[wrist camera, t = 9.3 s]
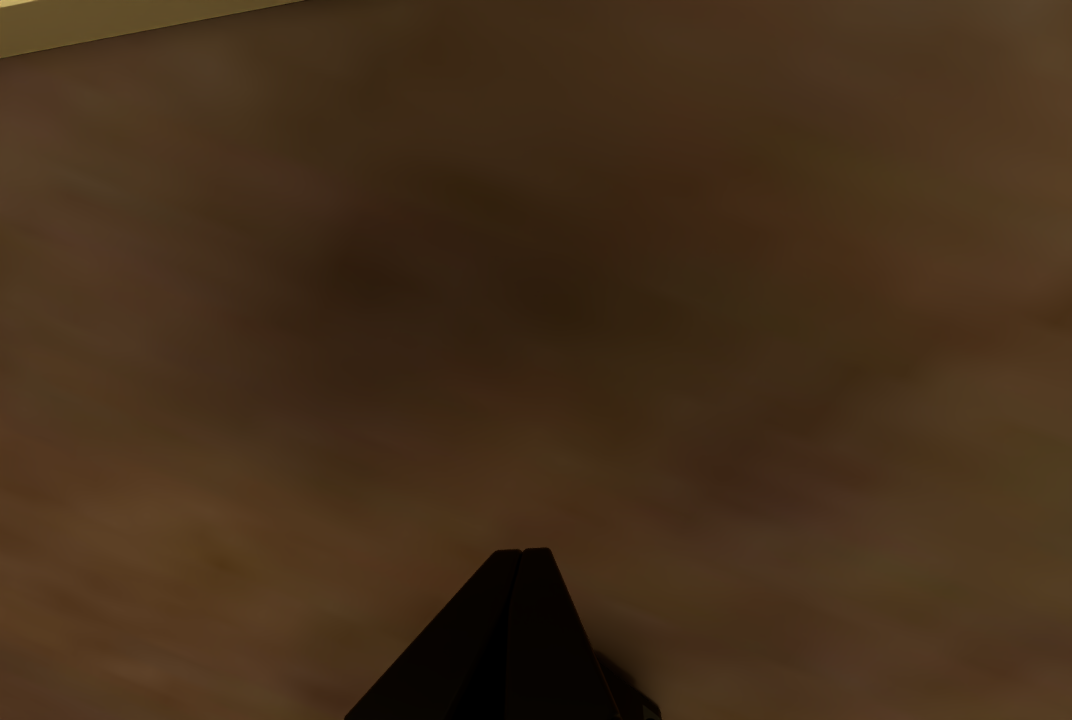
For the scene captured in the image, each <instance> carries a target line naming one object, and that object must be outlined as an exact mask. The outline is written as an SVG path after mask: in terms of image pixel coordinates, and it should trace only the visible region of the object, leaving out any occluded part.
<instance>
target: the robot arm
mask: <svg viewBox="0 0 1072 720" xmlns="http://www.w3.org/2000/svg"><path fill="white" fill-rule="evenodd" d="M344 720H662V717H661V712H660V710H659V709H658V708H657V707H655V706H654V705H653V704H651V703H650V702H649V701H648V700H646V699H645V698H644V697H642V696H641V695H640V694H639V693H637V692H636V691H635V690H633V689H632V688H631V687H630V686H628V685H627V684H626V683H624V682H623V681H622V680H621V679H619V678H618V677H617V676H615V675H614V674H613V673H612V672H610V671H609V670H608V669H606V668H605V667H604V666H603V665H601V664H600V663H599V662H598V661H597V658H596V656H595V654H594V651H593V649H592V646H591V644H590V642H589V639H588V637H587V635H586V632H585V630H584V627H583V625H582V623H581V620H580V618H579V616H578V613H577V611H576V609H575V606H574V604H573V601H572V599H571V597H570V594H569V592H568V590H567V587H566V585H565V583H564V580H563V578H562V575H561V573H560V571H559V568H558V566H557V564H556V561H555V559H554V556H553V554H552V552H551V550H550V549H549V548H547V547H543V548H527V549H525V550H524V551H523V552H522V551H521V550H520V549H508V550H497V551H495V552H494V553H493V554H492V555H491V556H490V557H489V558H488V559H487V560H486V561H485V562H484V563H483V565H482V566H481V567H480V568H479V569H478V570H477V571H476V572H475V573H474V574H473V576H472V577H471V578H470V579H469V580H468V581H467V582H466V583H465V584H464V586H463V587H462V588H461V589H460V590H459V591H458V592H457V593H456V594H455V595H454V597H453V598H452V599H451V600H450V601H449V602H448V603H447V604H446V605H445V607H444V608H443V609H442V610H441V611H440V612H439V613H438V614H437V615H436V616H435V618H434V619H433V620H432V621H431V622H430V623H429V624H428V625H427V626H426V627H425V629H424V630H423V631H422V632H421V633H420V634H419V635H418V636H417V637H416V639H415V640H414V641H413V642H412V643H411V644H410V645H409V646H408V647H407V648H406V650H405V651H404V652H403V653H402V654H401V655H400V656H399V657H398V658H397V660H396V661H395V662H394V663H393V664H392V665H391V666H390V667H389V668H388V669H387V671H386V672H385V673H384V674H383V675H382V676H381V677H380V678H379V679H378V680H377V682H376V683H375V684H374V685H373V686H372V687H371V688H370V689H369V690H368V692H367V693H366V694H365V695H364V696H363V697H362V698H361V699H360V700H359V701H358V703H357V704H356V705H355V706H354V707H353V708H352V709H351V710H350V711H349V713H348V714H347V715H346V716H345V718H344Z"/></svg>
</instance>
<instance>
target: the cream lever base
mask: <svg viewBox="0 0 1072 720" xmlns="http://www.w3.org/2000/svg"><path fill="white" fill-rule="evenodd" d="M299 1H304V0H0V58H4V57H10V56H15V55H20V54H26V53H31V52H36V51H41V50H47V49H52V48H57V47H62V46H68V45H73V44H78V43H83V42H89V41H94V40H99V39H104V38H110V37H115V36H120V35H125V34H131V33H136V32H141V31H147V30H152V29H157V28H162V27H168V26H173V25H178V24H183V23H189V22H194V21H199V20H204V19H210V18H215V17H220V16H225V15H231V14H236V13H241V12H246V11H252V10H257V9H262V8H267V7H273V6H278V5H283V4H289V3H294V2H299Z"/></svg>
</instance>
